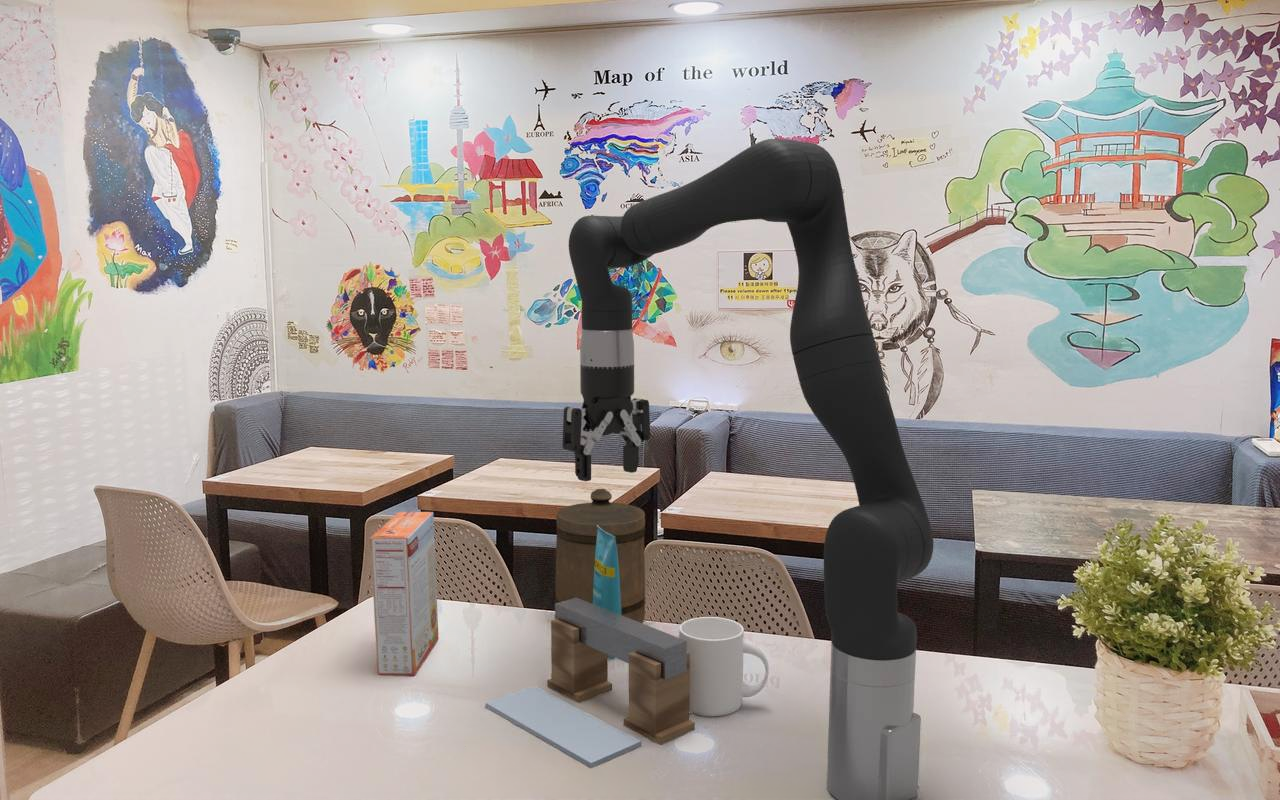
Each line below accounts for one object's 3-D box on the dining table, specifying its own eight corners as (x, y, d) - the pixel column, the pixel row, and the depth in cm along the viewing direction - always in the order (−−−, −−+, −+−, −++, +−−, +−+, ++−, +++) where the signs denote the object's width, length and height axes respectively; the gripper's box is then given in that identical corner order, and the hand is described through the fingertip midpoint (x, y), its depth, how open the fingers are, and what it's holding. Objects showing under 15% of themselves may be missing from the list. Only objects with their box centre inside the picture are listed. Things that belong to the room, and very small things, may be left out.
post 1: (612, 690, 141) (612, 621, 140) (578, 703, 137) (578, 632, 136) (580, 674, 146) (580, 608, 145) (547, 686, 142) (546, 618, 141)
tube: (582, 647, 156) (581, 526, 154) (610, 642, 159) (610, 522, 156) (603, 664, 150) (603, 538, 147) (632, 658, 152) (633, 534, 149)
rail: (686, 671, 128) (686, 641, 128) (664, 679, 126) (665, 648, 125) (576, 624, 144) (576, 597, 144) (555, 631, 142) (554, 603, 141)
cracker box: (402, 639, 160) (397, 510, 157) (439, 640, 159) (436, 510, 156) (373, 676, 146) (368, 534, 143) (414, 677, 146) (410, 535, 143)
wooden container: (654, 608, 174) (655, 482, 171) (630, 639, 160) (630, 503, 157) (573, 600, 178) (572, 477, 175) (542, 629, 164) (541, 497, 161)
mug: (765, 723, 131) (767, 644, 130) (673, 715, 134) (674, 637, 132) (769, 695, 140) (771, 620, 138) (683, 688, 142) (684, 614, 141)
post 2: (694, 729, 130) (695, 654, 128) (661, 744, 126) (661, 667, 124) (657, 711, 135) (657, 639, 133) (623, 725, 131) (623, 651, 129)
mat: (640, 745, 125) (640, 741, 125) (591, 767, 120) (591, 763, 120) (533, 689, 141) (533, 685, 141) (485, 706, 136) (485, 702, 136)
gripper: (584, 367, 134) (585, 488, 136) (662, 360, 143) (662, 473, 145) (550, 363, 139) (551, 479, 141) (627, 356, 149) (627, 465, 151)
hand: (607, 475), depth 143 cm, fingers open, 8 cm apart
